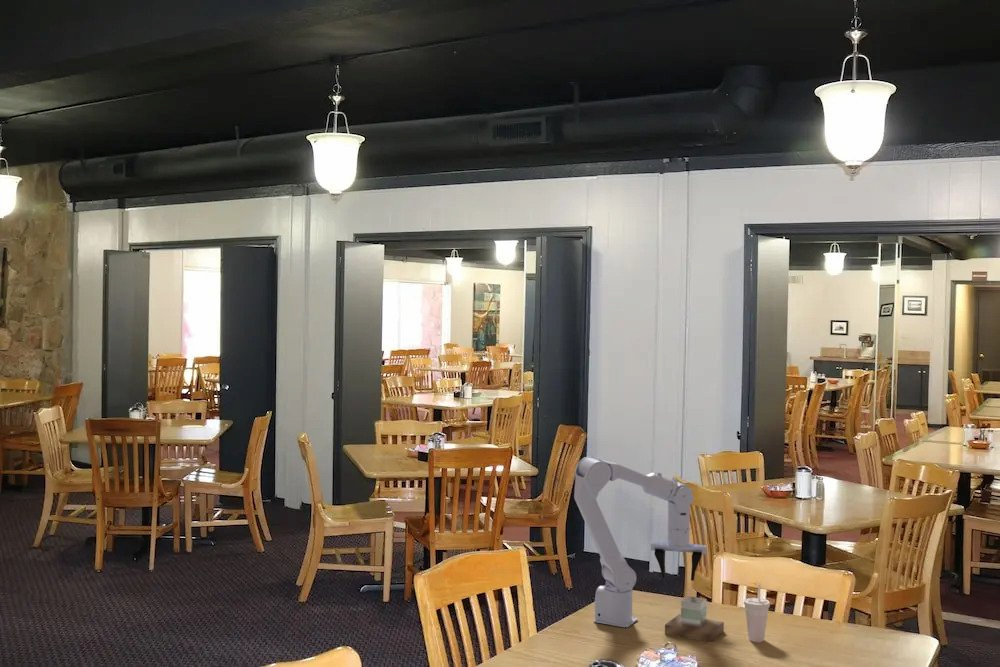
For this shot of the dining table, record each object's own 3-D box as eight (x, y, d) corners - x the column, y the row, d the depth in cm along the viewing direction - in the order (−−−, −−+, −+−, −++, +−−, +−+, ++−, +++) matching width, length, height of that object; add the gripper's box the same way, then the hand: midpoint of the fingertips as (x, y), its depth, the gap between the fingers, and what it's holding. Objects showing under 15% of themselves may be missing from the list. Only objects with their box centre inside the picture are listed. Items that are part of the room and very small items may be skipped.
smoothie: (770, 644, 238) (771, 588, 238) (743, 643, 239) (744, 586, 239) (768, 636, 244) (769, 581, 244) (742, 634, 246) (743, 579, 245)
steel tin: (680, 624, 246) (681, 601, 246) (686, 619, 250) (687, 595, 250) (700, 627, 243) (700, 603, 243) (706, 622, 248) (706, 598, 248)
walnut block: (664, 636, 246) (664, 624, 246) (678, 625, 254) (679, 614, 254) (710, 645, 240) (710, 632, 240) (723, 633, 248) (723, 622, 248)
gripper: (649, 529, 257) (649, 580, 257) (705, 532, 253) (704, 584, 254) (652, 523, 264) (652, 573, 264) (706, 527, 260) (706, 577, 260)
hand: (678, 578), depth 259 cm, fingers open, 7 cm apart
